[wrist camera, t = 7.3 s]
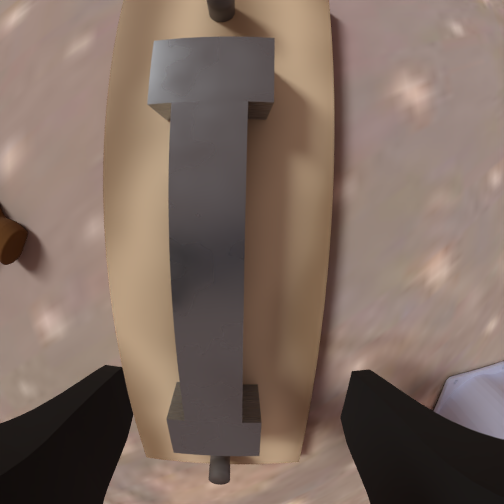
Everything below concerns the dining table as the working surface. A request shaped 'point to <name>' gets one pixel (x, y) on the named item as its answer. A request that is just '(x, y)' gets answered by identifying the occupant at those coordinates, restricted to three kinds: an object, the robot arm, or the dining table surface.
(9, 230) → the hammer
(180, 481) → the dining table surface
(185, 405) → the drawer pull handle
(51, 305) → the dining table surface
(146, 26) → the oak board
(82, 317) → the dining table surface
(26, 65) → the dining table surface
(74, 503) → the robot arm
